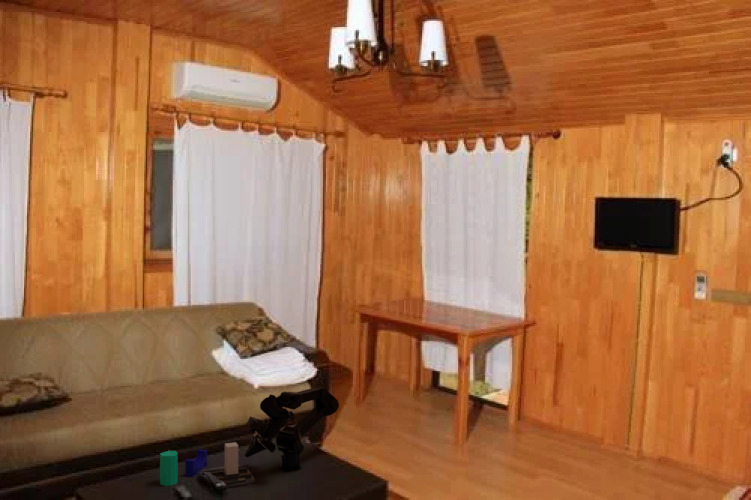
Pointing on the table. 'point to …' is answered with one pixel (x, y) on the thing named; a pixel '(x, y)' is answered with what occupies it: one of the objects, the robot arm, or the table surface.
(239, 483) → the cord near
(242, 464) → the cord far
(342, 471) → the table surface
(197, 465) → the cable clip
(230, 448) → the pinkish beige rectangular block
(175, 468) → the candle
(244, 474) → the panel
